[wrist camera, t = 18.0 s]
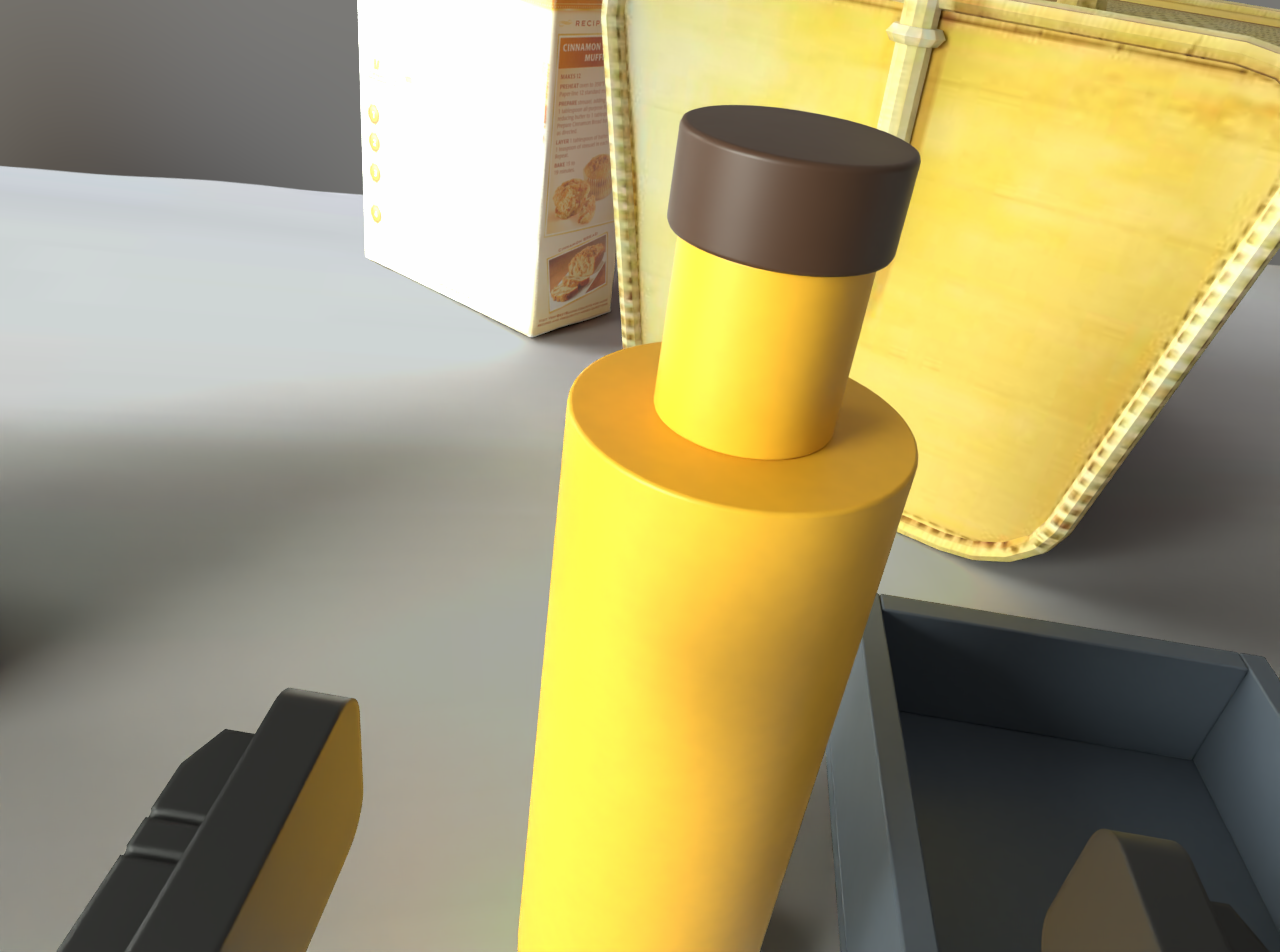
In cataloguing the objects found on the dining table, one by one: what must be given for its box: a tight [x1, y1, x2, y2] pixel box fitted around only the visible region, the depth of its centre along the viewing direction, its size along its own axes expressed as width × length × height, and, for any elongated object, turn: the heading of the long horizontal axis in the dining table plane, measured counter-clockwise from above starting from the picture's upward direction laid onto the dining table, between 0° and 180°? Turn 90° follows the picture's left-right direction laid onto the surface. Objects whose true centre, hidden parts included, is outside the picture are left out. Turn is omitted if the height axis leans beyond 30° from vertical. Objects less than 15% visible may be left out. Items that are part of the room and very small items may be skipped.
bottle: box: [518, 105, 921, 952], centre depth 19 cm, size 6×6×20 cm
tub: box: [826, 593, 1280, 952], centre depth 25 cm, size 13×13×5 cm
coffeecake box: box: [358, 0, 616, 338], centre depth 53 cm, size 15×7×20 cm, turn 50°
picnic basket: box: [601, 0, 1280, 562], centre depth 44 cm, size 29×26×30 cm
